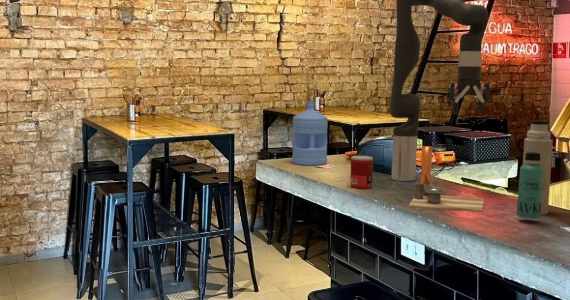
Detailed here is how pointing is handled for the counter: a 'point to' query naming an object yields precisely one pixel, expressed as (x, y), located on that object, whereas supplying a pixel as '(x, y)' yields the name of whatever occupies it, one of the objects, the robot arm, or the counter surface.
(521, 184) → the beverage bottle
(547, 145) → the thermos bottle
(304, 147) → the water jug
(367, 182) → the canned food
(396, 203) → the counter surface
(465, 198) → the hub board
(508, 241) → the counter surface
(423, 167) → the lever
